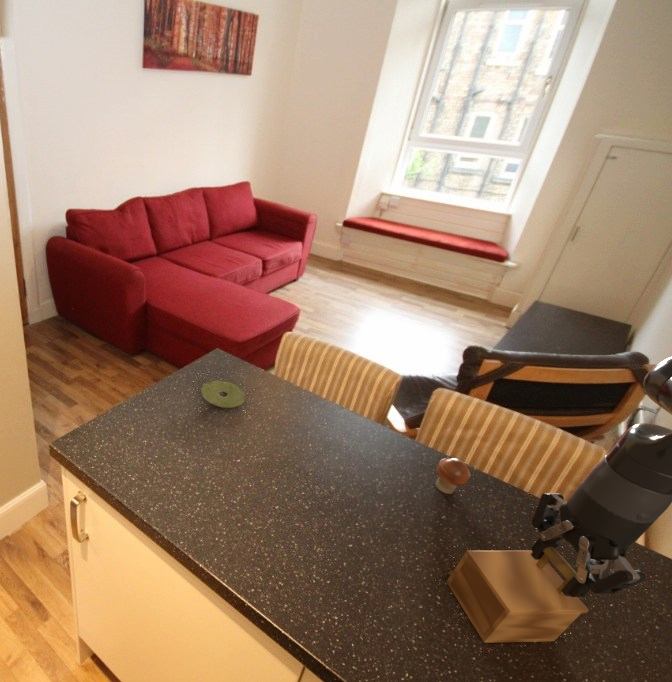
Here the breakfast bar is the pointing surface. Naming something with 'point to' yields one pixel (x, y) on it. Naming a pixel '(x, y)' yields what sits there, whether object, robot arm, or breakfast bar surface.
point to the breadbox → (501, 611)
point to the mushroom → (451, 475)
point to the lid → (527, 581)
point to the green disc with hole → (223, 394)
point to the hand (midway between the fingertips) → (552, 574)
